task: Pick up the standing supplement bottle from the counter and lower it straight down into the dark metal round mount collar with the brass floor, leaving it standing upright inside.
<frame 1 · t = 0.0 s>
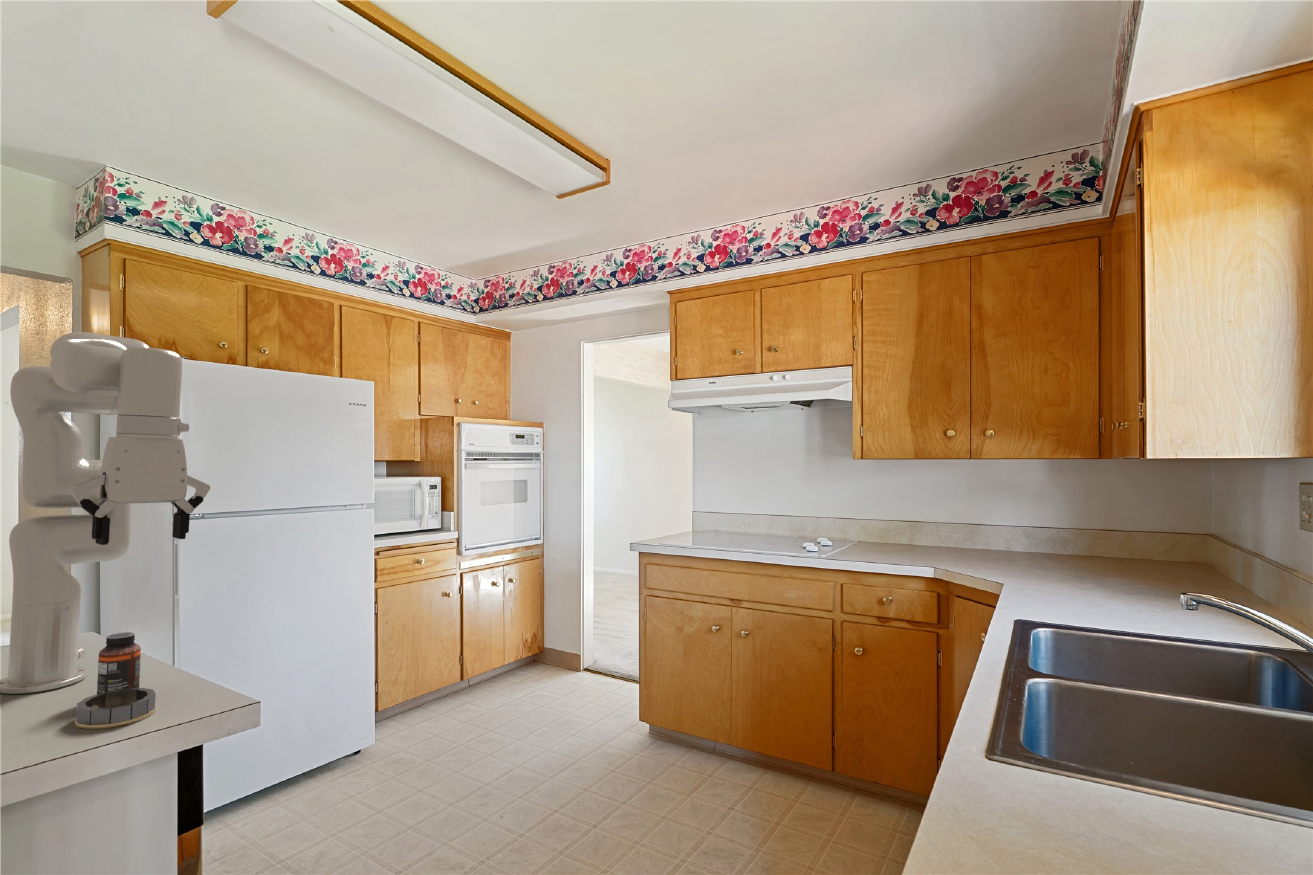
hand: (141, 540, 99), 31 cm above the countertop, tool pointing down, fingers open, 9 cm apart
mount collar: (116, 716, 109), on the countertop
supplement bottle: (117, 698, 117), on the countertop
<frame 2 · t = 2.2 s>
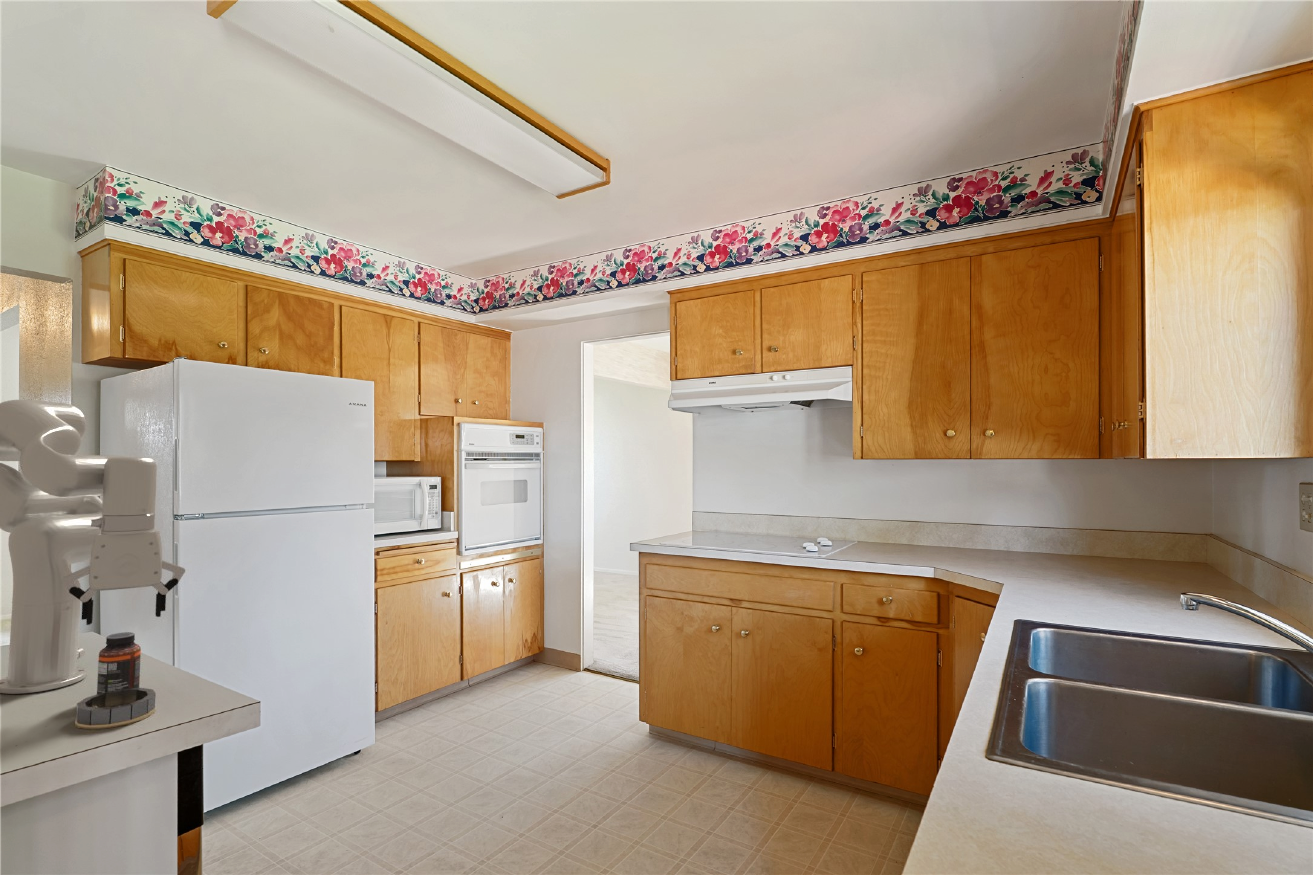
hand: (124, 619, 117), 14 cm above the countertop, tool pointing down, fingers open, 9 cm apart
nothing on the countertop moved.
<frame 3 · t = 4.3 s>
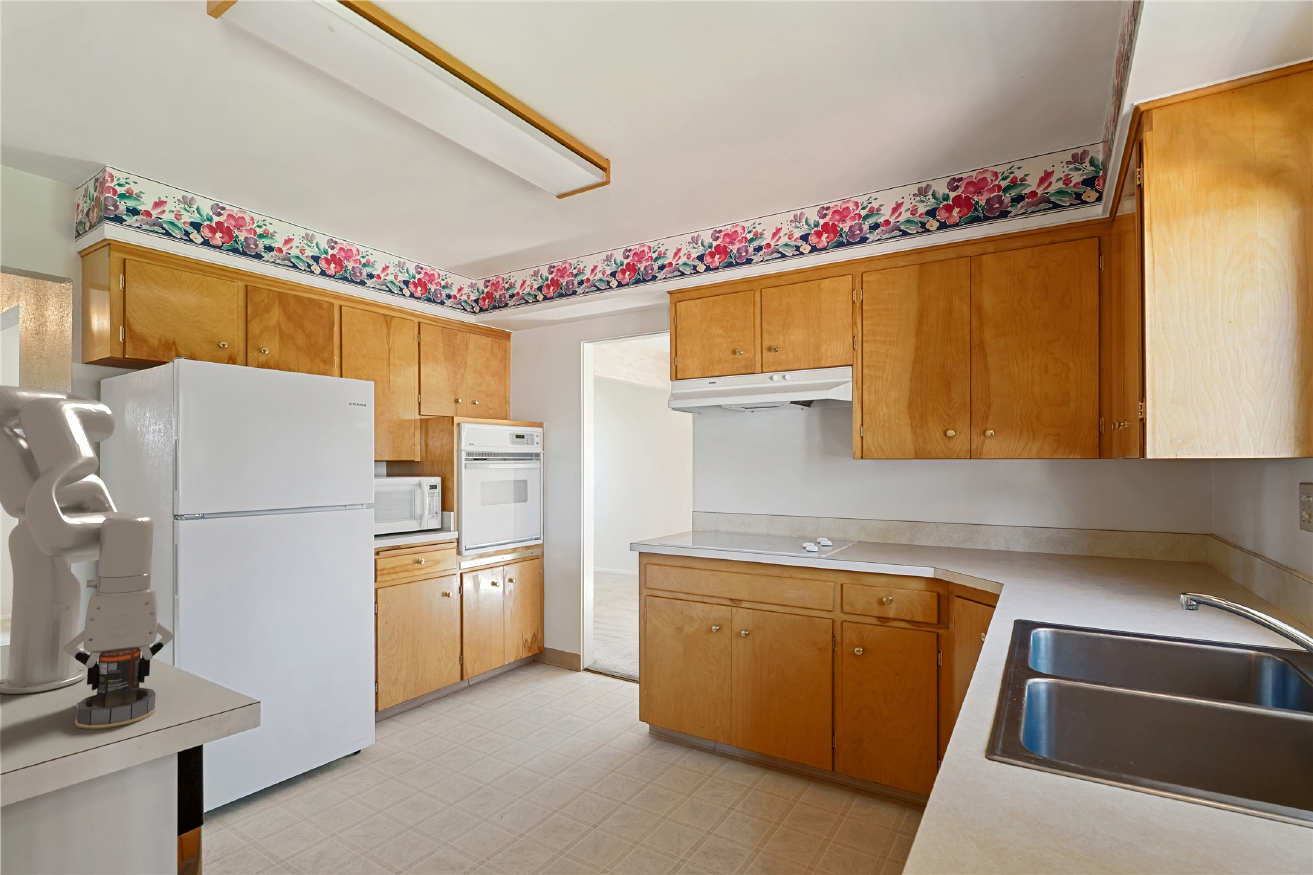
hand: (118, 683, 117), 3 cm above the countertop, tool pointing down, fingers closed on supplement bottle, 6 cm apart
supplement bottle: (117, 698, 117), on the countertop, touching gripper
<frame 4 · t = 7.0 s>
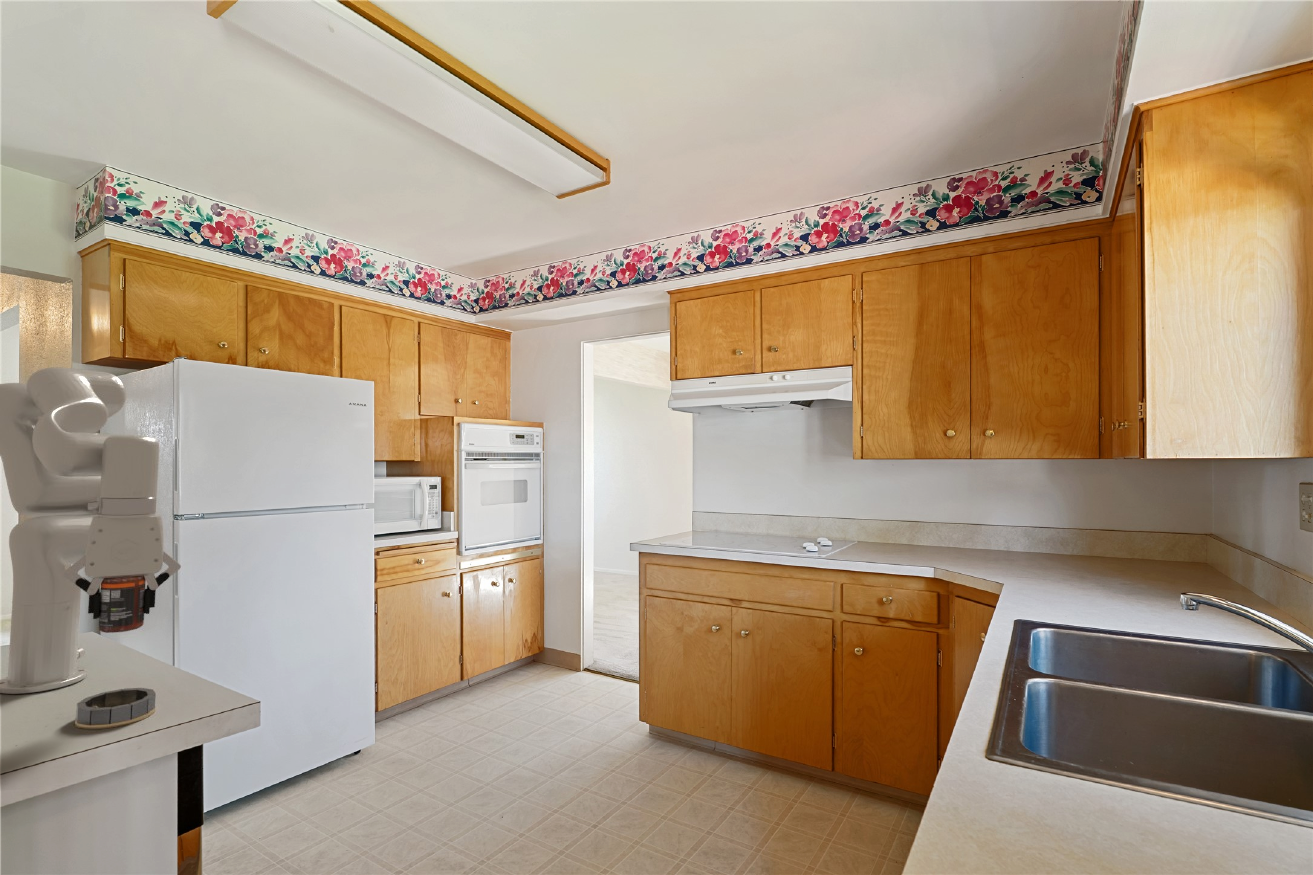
hand: (122, 613, 110), 17 cm above the countertop, tool pointing down, fingers closed on supplement bottle, 6 cm apart
supplement bottle: (121, 630, 110), point 14 cm above the countertop, touching gripper
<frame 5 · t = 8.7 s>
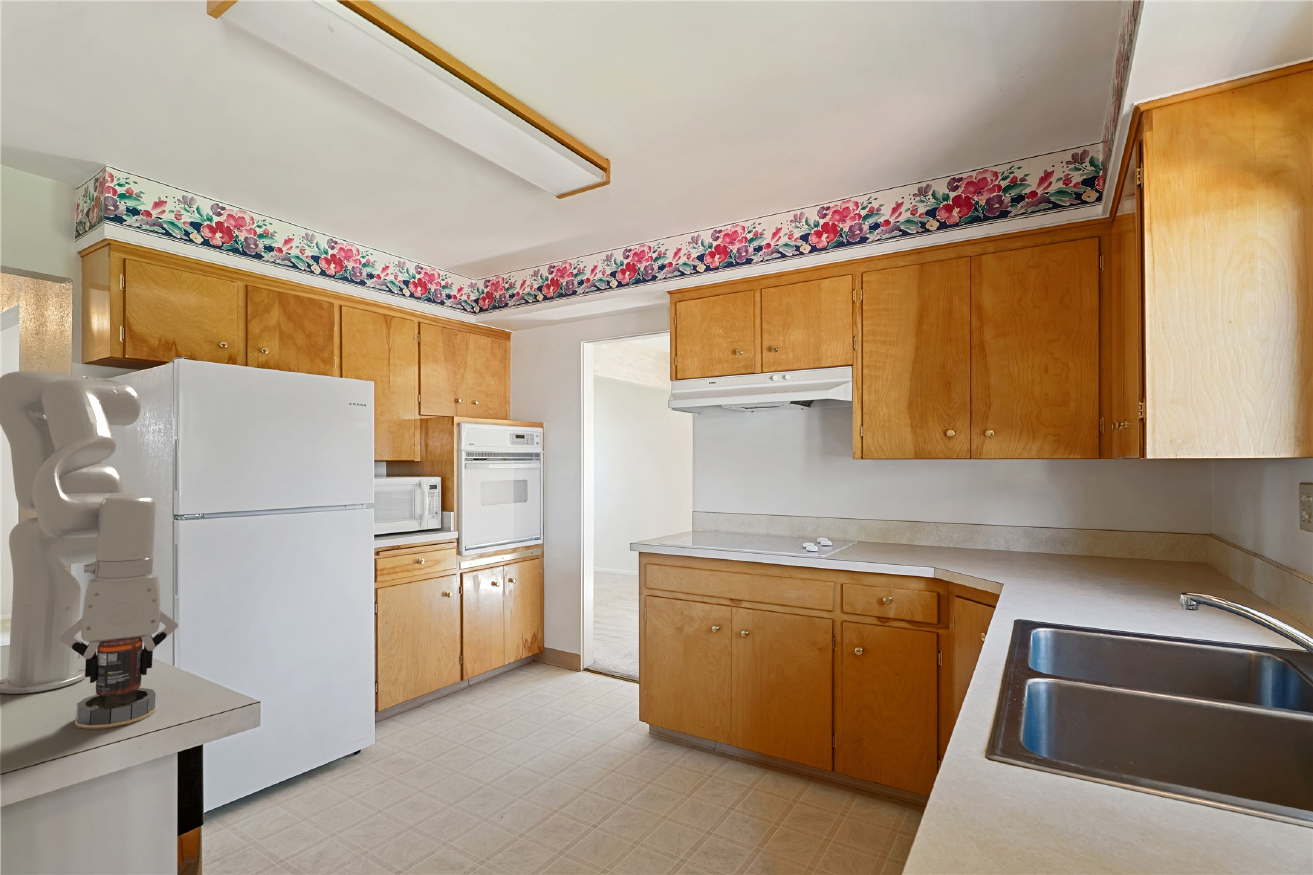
hand: (119, 675, 109), 7 cm above the countertop, tool pointing down, fingers closed on supplement bottle, 6 cm apart
supplement bottle: (118, 692, 109), point 4 cm above the countertop, touching gripper
when the fingers open (4 cm above the countertop, at t = 10.1 s): supplement bottle drops 1 cm, resting on mount collar.
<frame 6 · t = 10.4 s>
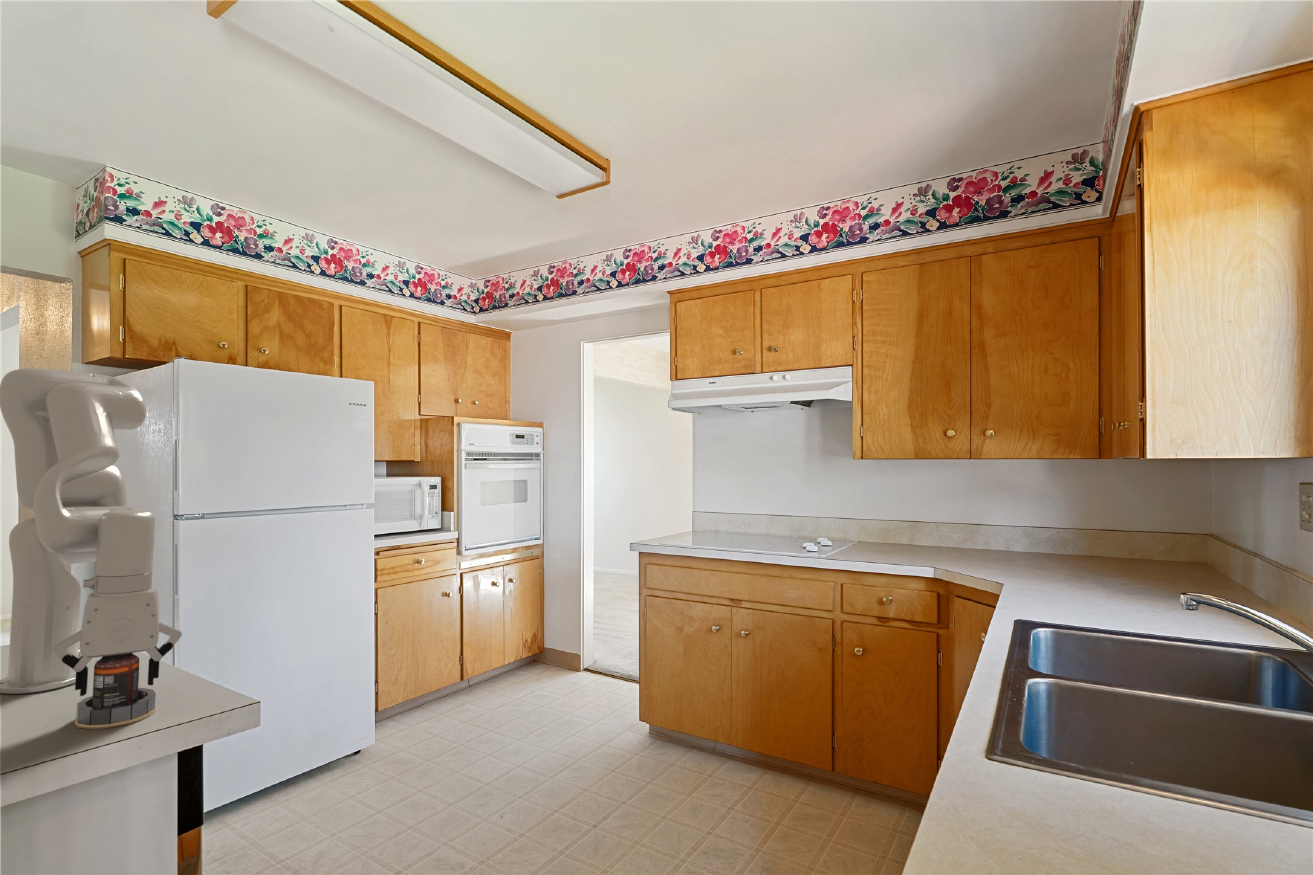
hand: (117, 687, 109), 5 cm above the countertop, tool pointing down, fingers open, 8 cm apart
supplement bottle: (114, 714, 109), resting on mount collar
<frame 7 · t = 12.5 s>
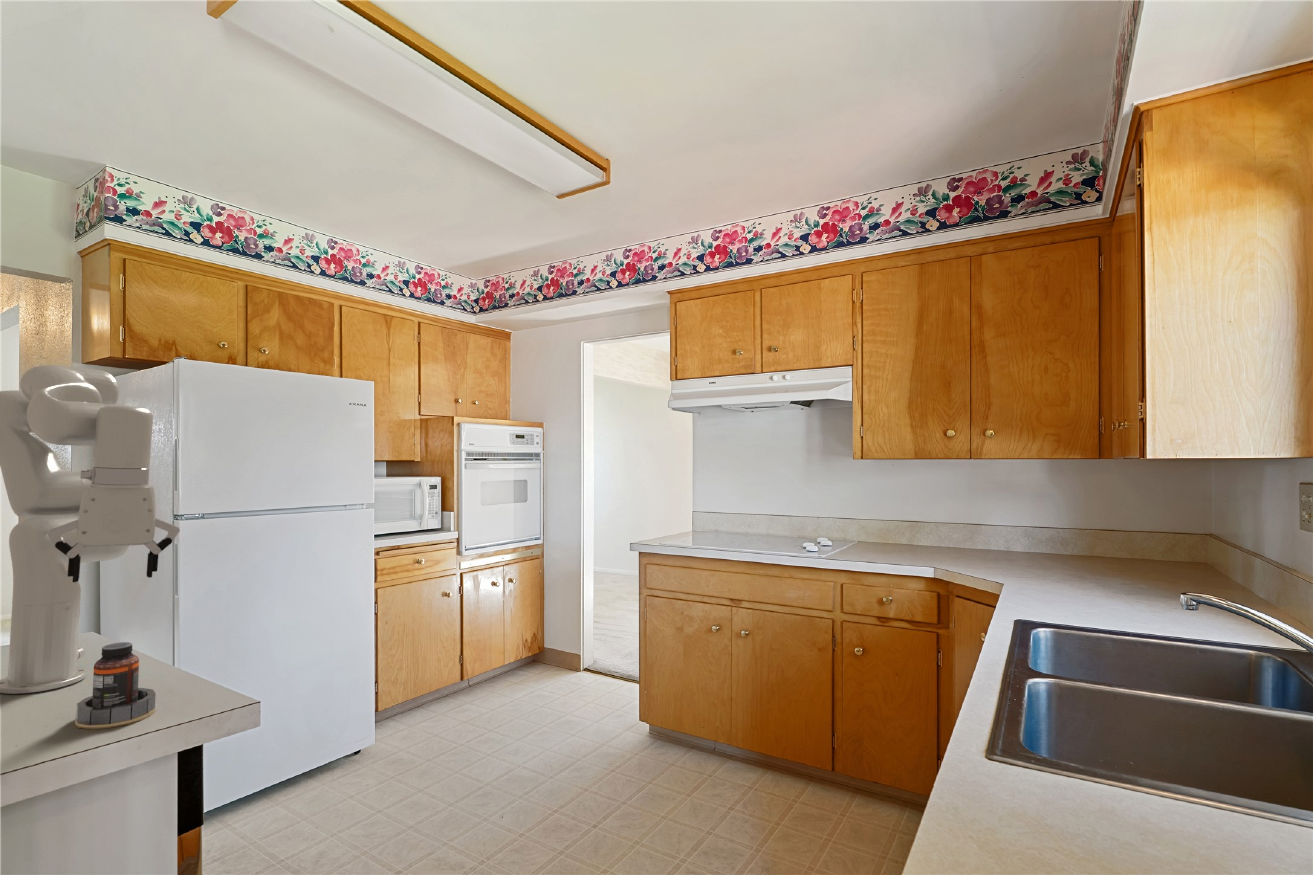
hand: (113, 578, 111), 23 cm above the countertop, tool pointing down, fingers open, 9 cm apart
nothing on the countertop moved.
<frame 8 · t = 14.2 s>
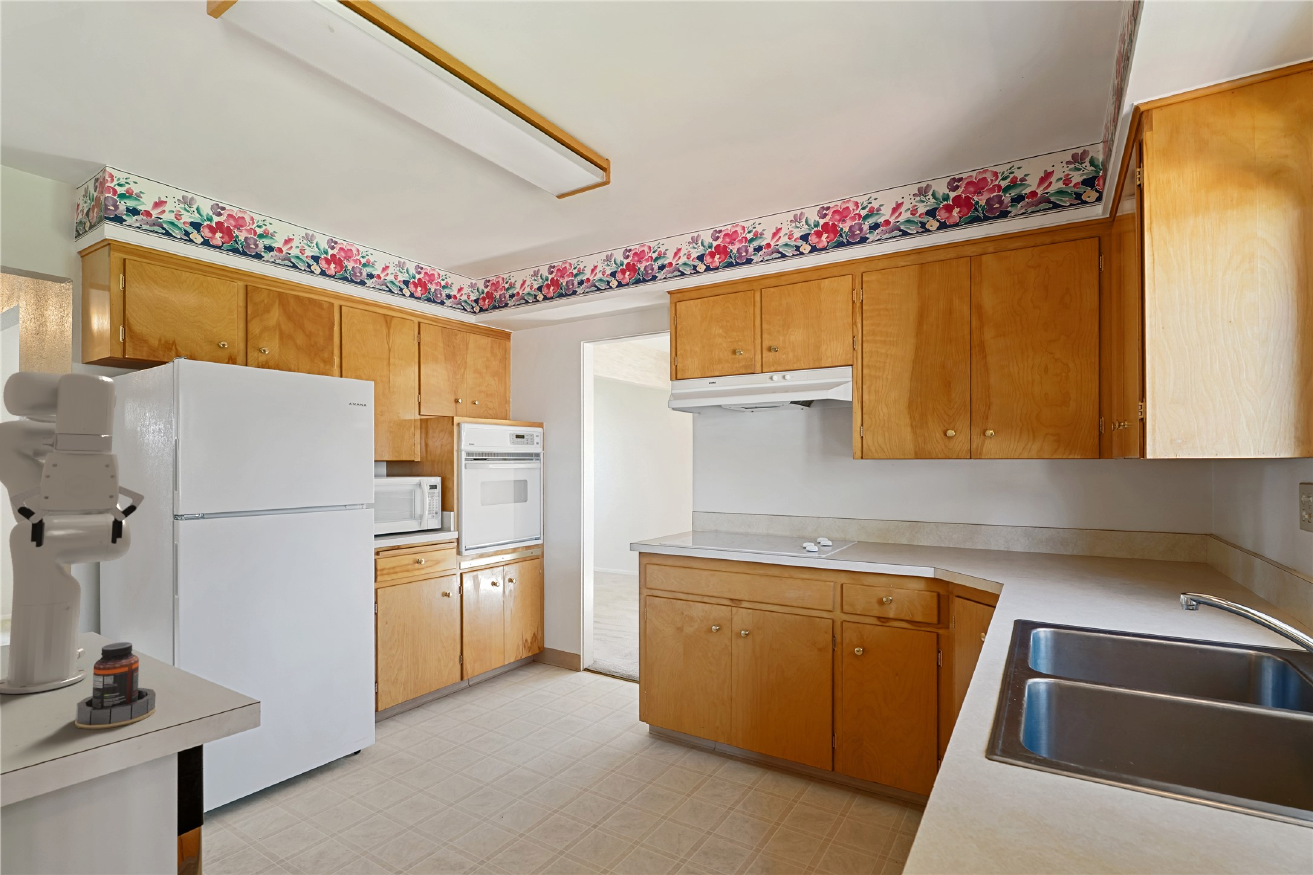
hand: (77, 544, 112), 28 cm above the countertop, tool pointing down, fingers open, 9 cm apart
nothing on the countertop moved.
at the end: supplement bottle 0.3 cm off-centre on the mount collar, point 0.4 cm above the mount collar's base; supplement bottle tilted 0°; the gripper is holding nothing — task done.
